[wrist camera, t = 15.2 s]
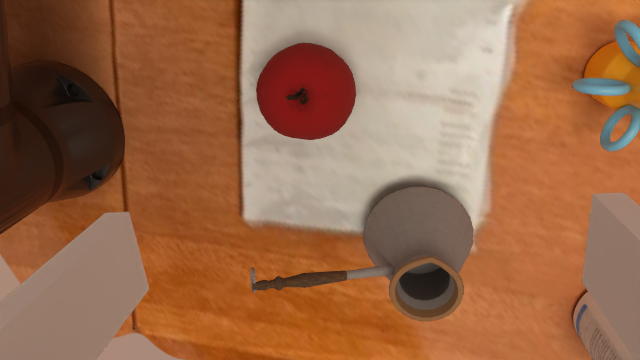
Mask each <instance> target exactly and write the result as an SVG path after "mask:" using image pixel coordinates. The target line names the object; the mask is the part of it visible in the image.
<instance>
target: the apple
mask: <svg viewBox="0 0 640 360" xmlns="http://www.w3.org/2000/svg"><path fill="white" fill-rule="evenodd" d="M256 92H257V101H258V105H259V108H260V111H261V113H262V115H263V116H264V118H265V120H266V121H267V123H268V124H269V125H270V126H271V127H272V128H273V129H274V130H275V131H277V132H278V133H280V134H282V135H284V136H288V137H292V138H298V139H306V140H314V139H321V138H324V137H327V136H329V135H332V134H334V133H335V132H337V131H338V130H339V129H340V128H341V127H342V126H343V125H344V124H345V122H346V121H347V119H348V117H349V116H350V114H351V112H352V109H353V107H354V104H355V97H356V89H355V82H354V78H353V74H352V72H351V70H350V68H349V66H348V65H347V64H346V63H345V62H344V60H343V59H342V58H340V57H339V56H338V55H337V54H336V53H334V52H333V51H332V50H330V49H328V48H326V47H323V46H320V45H315V44H311V43H299V44H296V45H293V46H290V47H287V48H286V49H284V50H282V51H280V52H278V53H277V54H276V55H274V56H273V57H272V58H271V60H270V61H269V62H268V63H267V65H266V66H265V68H264V69H263V71H262V72H261V74H260V76H259V79H258V82H257V89H256Z"/></svg>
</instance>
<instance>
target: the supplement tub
mask: <svg viewBox="0 0 640 360" xmlns="http://www.w3.org/2000/svg"><path fill="white" fill-rule="evenodd" d="M573 322H574V327H575V330H576V332H577V334H578V336H579V337H580V339H581V341H582V343H583V344H584V346H585V348H586V349H587V351H588V353H589V355H590V356H591V358H592V360H634V358H633V357H632V355H631V354H630V352H629V351H628V350H627V348H626V347H625V345H624V344H623V342H622V341H621V339H620V338H619V336H618V335H617V333H616V332H615V330H614V329H613V327H612V326H611V325H610V323H609V322H608V320H607V319H606V317H605V316H604V314H603V313H602V311H601V310H600V308H599V307H598V305H597V304H596V302H595V301H594V299H593V298H592V297H591V295H590V294H589V292H587V293H585V294H584V295H583V296H582V298H581V299H580V300H579V302H578V304H577V306H576V308H575V311H574V316H573Z"/></svg>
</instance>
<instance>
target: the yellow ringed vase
mask: <svg viewBox="0 0 640 360" xmlns="http://www.w3.org/2000/svg"><path fill="white" fill-rule="evenodd" d="M626 33H628V34H629V35H630V36H631V38H632V39H633V40H634V41H630V40H628V38H627V36H626ZM614 34H615V38H616V41H615V42H612V43H609V44H607V45H605V46H604V47H602V48H601V49H599V50H598V51H597V52H596V53H595V54H594V55H593V56H592V57H591V59H590V60H589V62H588V64H587V66H586V69H585V72H584V78H582V79H577V80H575V81H574V82H573V84H572V86H573V88H574V89H575V90H576V91H578V92H582V93H586V94H589V95H590V96H591V97H592V98H594V99H595V100H597V101H598V102H600V103H602V104H604V105H606V106H608V107H609V108H611V109H613V110H615V112H614V113H613V114H612V115H611V116H610V117H609V119H608V120H607V121H606V123H605V125H604V127H603V129H602V131H601V135H600V143H601V146H602V147H603V148H604V149H605V150H607V151H617V150H619V149H622V148H623V147H625V146H626V145H627V144H629V143H630V142H631V141H632V140H633V138H634V137H635V136H636V134H637V133H638V131H639V129H640V28H639V27H638V26H637V25H635V24H634V23H632V22H631V21H628V20H621V21H619V22H618V23H617V24H616V25H615V28H614ZM627 114H631V116H632V119H631V123H630V125H629V127H628V129H627V131H626V132H625V133H624V135H623V136H622V137H621V138H619V139H618V140H617V141H615V142H611V141H610V136H611V132H612V130H613V128H614V127H615V125H616V124H617V122H618V121H619V120H620V119H621V118H622V117H624V116H625V115H627Z"/></svg>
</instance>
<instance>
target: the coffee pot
mask: <svg viewBox="0 0 640 360" xmlns="http://www.w3.org/2000/svg"><path fill="white" fill-rule="evenodd" d="M364 244H365V247H366V249H367V252H368V255H369V257H370V258H371V260H372V261H373V263H374V264H375V265H376V267H372V268H365V269H358V270H351V271H331V272H315V273H302V274H299V275H295V276H291V277H287V278H284V279H283V278H281V277H280V276H277V277H276V278H275V279H274V280H270V281H267V280H262V281H258V282H256V277H255V270H254V268H251V287H252V291H253V293H255V291H256V290H267V289H269V288H275V289H277V290H282V288H283V287H311V286H316V285H322V284H328V283H333V282H339V281H344V280H347V279H355V278H366V277H376V276H386V277H387V278H388V279H389V280H390V281H391V282H390V286H389V295H390V298H391V301H392V303H393V304H394V306H395V307H396V308H397V310H398V311H400V312H401V313H402V314H403V315H405V316H407V317H409V318H411V319H414V320H418V321H435V320H439V319H442V318H444V317H446V316H448V315H450V314H451V313H452V312H454V311H455V310H456V309H457V307H458V306H459V305H460V303H461V300H462V298H463V295H464V286H463V282H462V279H461V277H460V276H459V274H458V273H459V271H460V269H461V268H462V266H463V264H464V262H465V261H466V259H467V257H468V255H469V252H470V250H471V247H472V244H473V226H472V223H471V219H470V216H469V215H468V213H467V211H466V210H465V208H464V207H463V205H461V204H460V203H459V202H458V201H457V200H456V199H455V198H454V197H452V196H451V195H449V194H447V193H445V192H443V191H441V190H438V189H434V188H429V187H408V188H404V189H401V190H397V191H395V192H393V193H391V194H389V195H388V196H386V197H384V198H383V199H382V200H381V201H380V202H379V203H378V204H377V205H375V206H374V208H373V209H372V211H371V213H370V215H369V216H368V218H367V220H366V224H365V228H364ZM253 278H254V283H253Z"/></svg>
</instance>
